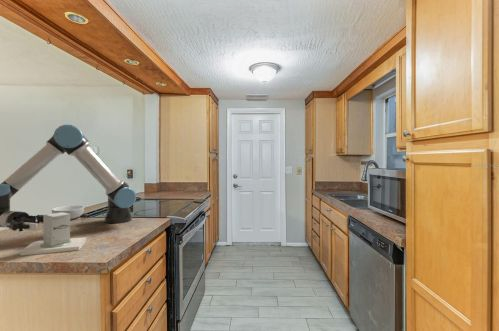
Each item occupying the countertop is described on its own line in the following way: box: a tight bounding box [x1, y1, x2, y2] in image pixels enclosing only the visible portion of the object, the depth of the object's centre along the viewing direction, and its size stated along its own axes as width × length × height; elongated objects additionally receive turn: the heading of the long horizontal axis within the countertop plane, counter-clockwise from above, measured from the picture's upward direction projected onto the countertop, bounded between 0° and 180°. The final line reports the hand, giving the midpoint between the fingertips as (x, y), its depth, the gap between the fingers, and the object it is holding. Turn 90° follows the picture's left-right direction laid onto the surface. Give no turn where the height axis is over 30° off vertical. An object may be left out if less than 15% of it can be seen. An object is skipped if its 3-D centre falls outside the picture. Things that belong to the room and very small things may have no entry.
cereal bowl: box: [51, 205, 85, 221], centre depth 168 cm, size 17×17×7 cm
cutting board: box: [19, 236, 87, 256], centre depth 114 cm, size 20×14×2 cm
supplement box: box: [42, 212, 71, 246], centre depth 115 cm, size 7×7×13 cm
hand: (53, 223), depth 114 cm, fingers open, 13 cm apart
